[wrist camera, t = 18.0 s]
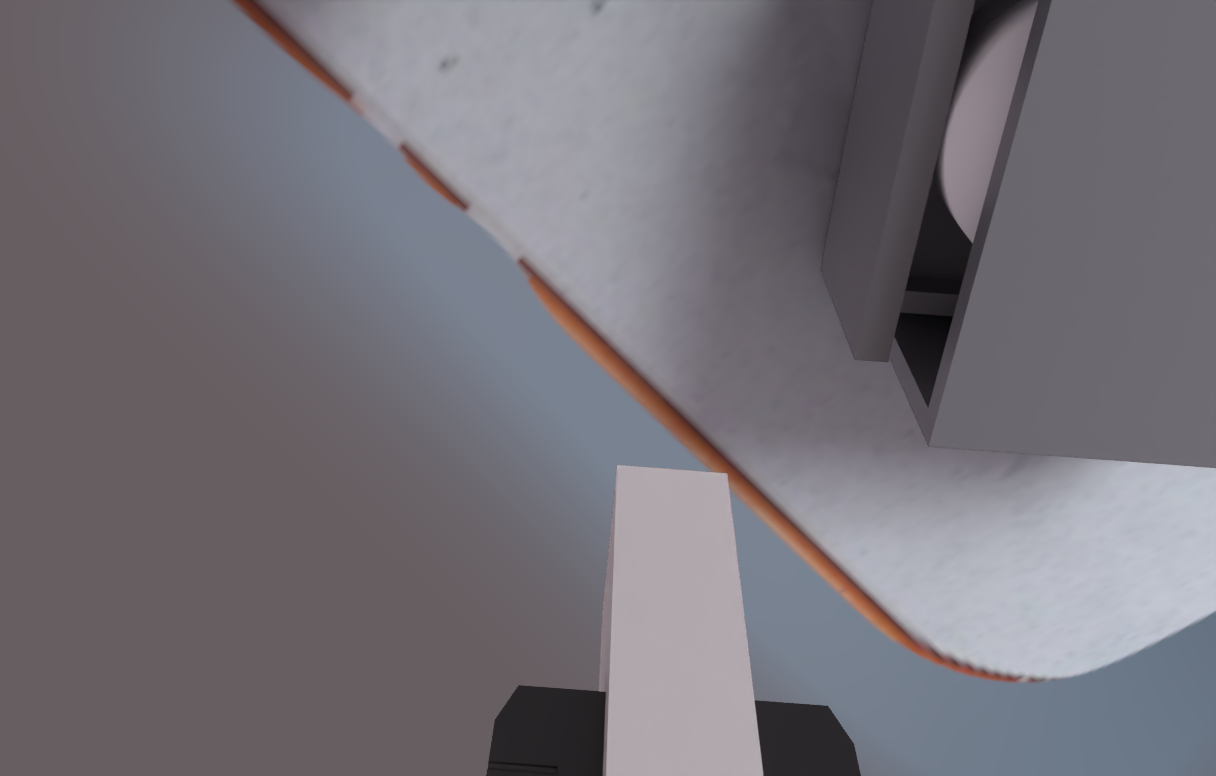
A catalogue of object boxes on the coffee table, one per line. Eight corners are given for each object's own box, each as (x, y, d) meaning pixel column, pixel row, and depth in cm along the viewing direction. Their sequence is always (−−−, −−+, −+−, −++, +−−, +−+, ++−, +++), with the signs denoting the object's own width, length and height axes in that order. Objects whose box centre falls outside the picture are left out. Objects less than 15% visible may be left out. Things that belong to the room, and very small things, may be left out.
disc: (976, -45, 27) (995, -35, 26) (1277, -7, 27) (1313, 6, 26) (898, 243, 31) (911, 266, 30) (1161, 273, 31) (1187, 298, 30)
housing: (991, -240, 29) (1119, -245, 22) (1479, -197, 30) (1778, -186, 22) (868, 309, 38) (928, 446, 30) (1246, 338, 38) (1402, 481, 31)
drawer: (893, -199, 30) (955, -193, 24) (1382, -156, 30) (1558, -140, 24) (804, 278, 37) (835, 369, 31) (1196, 309, 37) (1297, 405, 32)
